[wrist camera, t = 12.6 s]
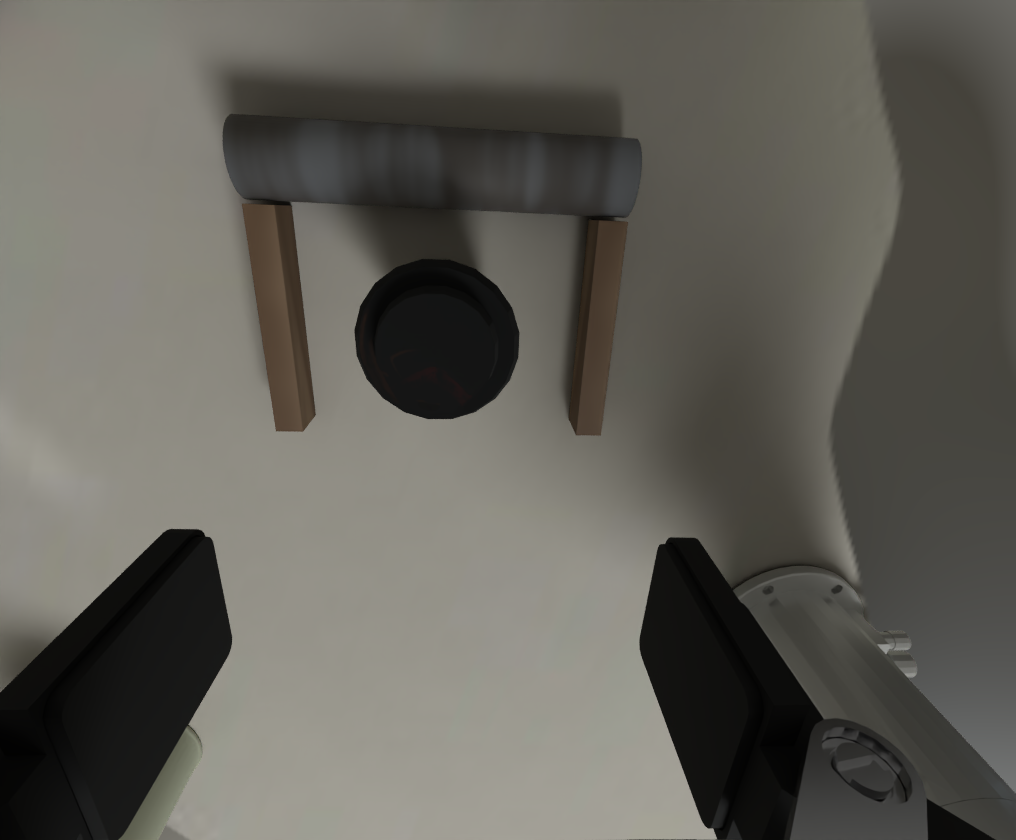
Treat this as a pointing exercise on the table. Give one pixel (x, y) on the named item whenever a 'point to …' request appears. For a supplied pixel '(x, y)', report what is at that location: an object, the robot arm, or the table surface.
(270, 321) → the bay
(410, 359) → the coffee cup
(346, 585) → the table surface
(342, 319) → the table surface
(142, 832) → the can
